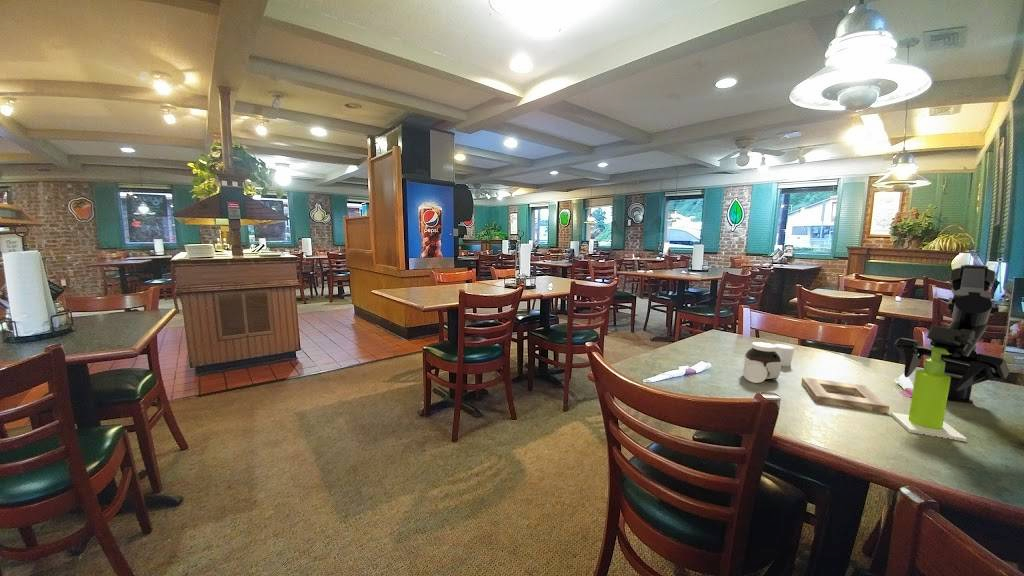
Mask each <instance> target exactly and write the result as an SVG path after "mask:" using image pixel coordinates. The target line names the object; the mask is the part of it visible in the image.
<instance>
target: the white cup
mask: <svg viewBox="0 0 1024 576" xmlns="http://www.w3.org/2000/svg"><path fill="white" fill-rule="evenodd" d="M773 345H775V346H776V353H777V354H778V355H779V356H780V358H781V367H791V365H792V361H793V357H794V351H795V346H793V345H789V344H783V343H773Z"/></svg>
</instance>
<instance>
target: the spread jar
mask: <svg viewBox="0 0 1024 576" xmlns="http://www.w3.org/2000/svg"><path fill="white" fill-rule="evenodd" d="M773 344H774V343H773ZM773 344H772V343H769V342H763V341H762V342H761V341H753V342H752V343H751V348H750V349H748V350H747V351H746V353H745V355H744V360H743V361H744V362H743V368H742V375H743V377H744V378H745V379H746V380H747V381H749V382H751V383H754V384H759V383H763V382H773V381H775V380H777V379H778V378H779V377H780V374H781V369H782V366H781V358H780V356H779V355H778V354H777V353H776V346H775V345H773Z"/></svg>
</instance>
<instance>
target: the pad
mask: <svg viewBox="0 0 1024 576" xmlns="http://www.w3.org/2000/svg"><path fill="white" fill-rule="evenodd" d="M889 413H890V414H889V415H890V417H892V418H893V419H894V420H895V421H896V422H897V423H898V424H899V425H901V427H903V428H904V429H905V430H906V431H907V432H908V433H912V434H917V433H918V435H923V434H925V435H924V436H929V435H930V437H935V436H937V437H936V438H941V437H943V438H942V439H947V438H949V440H953V439H954V440H955V441H960V442H967V440H968V438H967V437H965V436H964V435H963V434H961V433H960V432H958V430H956V429H955V428H953V427H952V426H951V425H949V424H948V423H947V422H945V421H943V427H942V428H941V429H933V428H927V427H923V426H920V425H917V424H915V423H912V422H911V421H909V414H905V413H899V412H894V411H893V412H889Z"/></svg>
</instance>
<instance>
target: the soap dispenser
mask: <svg viewBox="0 0 1024 576" xmlns="http://www.w3.org/2000/svg"><path fill="white" fill-rule="evenodd" d="M929 348H930V349H932V353H931V356H930V357H928V358H924V359H925V360H924V364H923V365H924V366H923V369H918V370H917V369H916V371H915V374H914V382H913V386H912V387H913V389H912V394H911V401H910V405H909V406H910V407H909V414H908V415H909V421H911V422H912V423H915V424H917V425H920V426H923V427H927V428H933V429H941V428H942V427H943V421H944V420H945V414H946V409H947V403H948V400H947V398H948V392H949V386H950V381H951V377H950V376H948V375H946V374H944V369H945V362H944V361H943V360H941V355H942V354H943V355H949V353H948V351H947V350H945V349H944V348H941V347H934V346H931V345H930V346H929ZM944 422H945V421H944Z"/></svg>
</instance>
